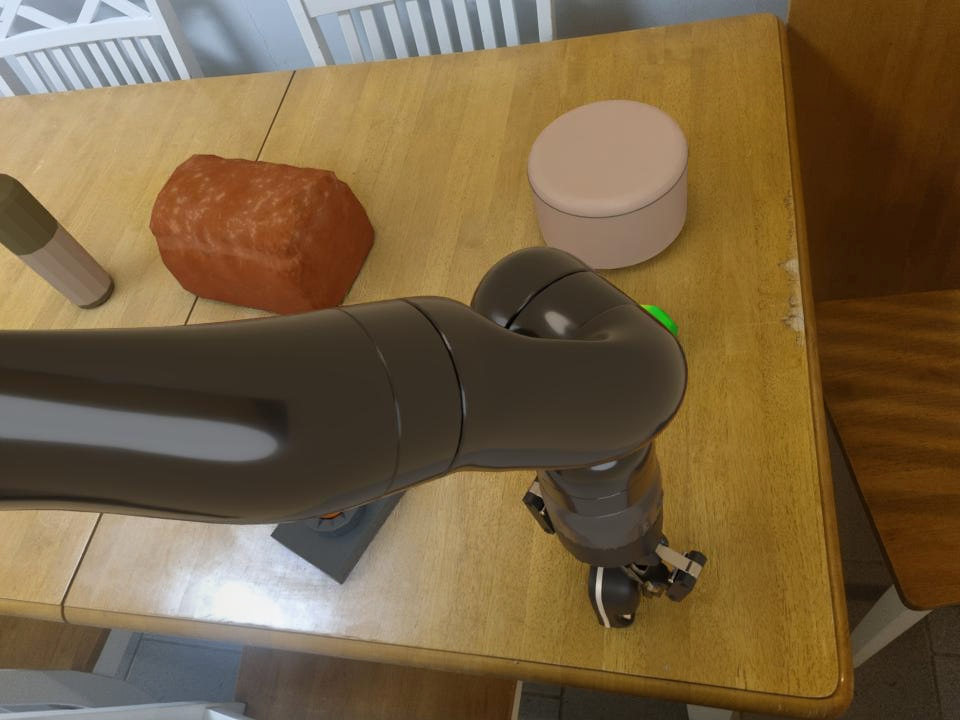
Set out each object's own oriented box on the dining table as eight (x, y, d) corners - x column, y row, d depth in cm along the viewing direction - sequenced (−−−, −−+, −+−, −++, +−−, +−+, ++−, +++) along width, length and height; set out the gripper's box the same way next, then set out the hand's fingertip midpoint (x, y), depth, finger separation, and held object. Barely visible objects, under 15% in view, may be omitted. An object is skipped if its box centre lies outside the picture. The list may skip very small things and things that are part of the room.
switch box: (341, 585, 73) (326, 573, 70) (279, 542, 77) (261, 529, 74) (409, 485, 77) (397, 469, 74) (347, 450, 82) (333, 434, 78)
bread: (329, 329, 92) (276, 252, 79) (181, 297, 101) (113, 223, 89) (385, 227, 99) (345, 143, 87) (243, 206, 108) (188, 127, 96)
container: (689, 274, 84) (691, 201, 74) (534, 280, 89) (517, 213, 79) (685, 163, 93) (686, 86, 84) (545, 174, 98) (531, 102, 88)
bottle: (64, 310, 105) (-124, 149, 80) (91, 271, 108) (-82, 106, 83) (101, 316, 102) (-81, 152, 78) (127, 277, 105) (-39, 107, 81)
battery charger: (641, 636, 64) (635, 602, 55) (598, 628, 66) (585, 594, 56) (649, 558, 68) (645, 514, 59) (608, 552, 69) (597, 508, 60)
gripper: (478, 489, 49) (522, 566, 63) (682, 598, 42) (680, 656, 56) (535, 400, 51) (565, 492, 65) (735, 490, 45) (721, 571, 59)
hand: (618, 568), depth 61 cm, fingers open, 5 cm apart
